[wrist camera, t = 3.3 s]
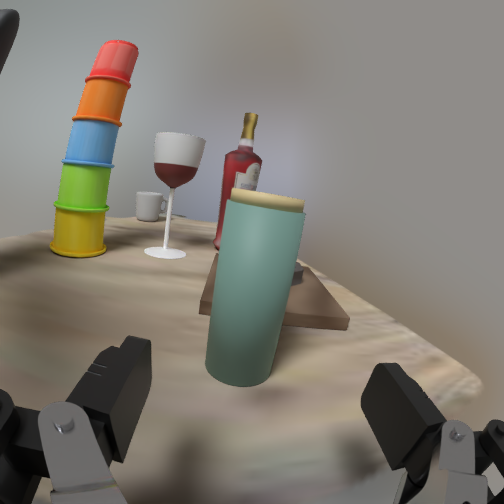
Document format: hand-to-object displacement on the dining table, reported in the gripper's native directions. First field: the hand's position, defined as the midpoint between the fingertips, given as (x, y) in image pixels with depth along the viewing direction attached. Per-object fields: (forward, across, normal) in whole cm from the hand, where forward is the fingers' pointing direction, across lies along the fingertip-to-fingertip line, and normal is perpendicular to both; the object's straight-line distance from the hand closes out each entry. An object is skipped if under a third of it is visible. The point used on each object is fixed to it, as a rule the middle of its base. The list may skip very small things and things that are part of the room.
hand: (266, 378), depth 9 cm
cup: (+71, +26, +7) cm, 76 cm away
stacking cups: (+32, +27, +7) cm, 43 cm away
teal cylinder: (+10, 0, +7) cm, 12 cm away
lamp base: (+28, -4, +7) cm, 29 cm away
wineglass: (+39, +13, +7) cm, 42 cm away
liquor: (+48, +2, +7) cm, 49 cm away
